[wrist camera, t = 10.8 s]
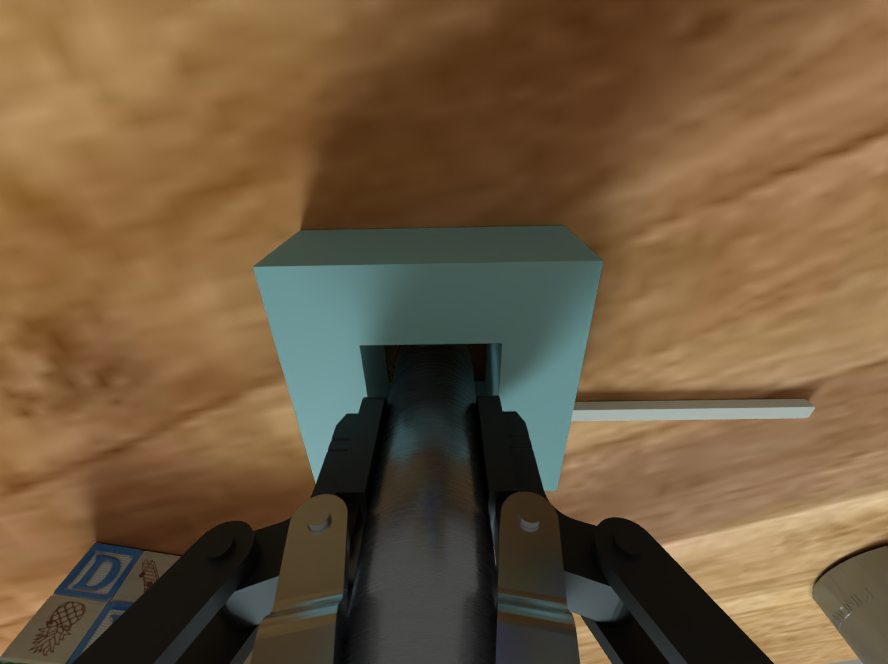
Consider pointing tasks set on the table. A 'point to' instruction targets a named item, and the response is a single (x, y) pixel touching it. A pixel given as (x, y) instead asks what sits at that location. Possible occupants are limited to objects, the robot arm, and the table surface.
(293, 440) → the table surface
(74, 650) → the stack of blocks
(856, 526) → the table surface
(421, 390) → the grey metal cylinder
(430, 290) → the bead
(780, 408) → the grey stick
